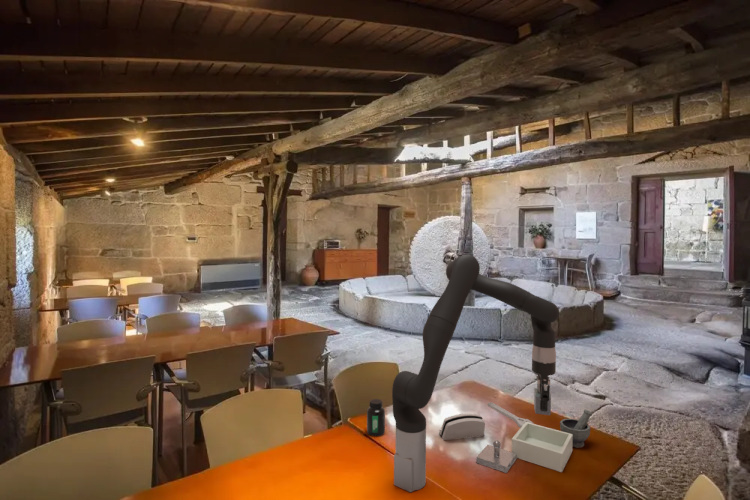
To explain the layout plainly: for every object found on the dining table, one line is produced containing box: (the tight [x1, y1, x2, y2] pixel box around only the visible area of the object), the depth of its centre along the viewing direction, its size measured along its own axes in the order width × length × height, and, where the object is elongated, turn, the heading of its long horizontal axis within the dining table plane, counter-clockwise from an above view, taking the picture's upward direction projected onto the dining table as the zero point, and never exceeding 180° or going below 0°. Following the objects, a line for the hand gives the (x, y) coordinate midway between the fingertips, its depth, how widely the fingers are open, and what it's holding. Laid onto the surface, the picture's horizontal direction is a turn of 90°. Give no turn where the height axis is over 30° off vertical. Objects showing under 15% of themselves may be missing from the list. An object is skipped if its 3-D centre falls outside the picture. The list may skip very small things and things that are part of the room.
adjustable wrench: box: [487, 402, 534, 429], centre depth 171 cm, size 25×6×2 cm, turn 19°
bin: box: [511, 422, 573, 473], centre depth 141 cm, size 16×16×6 cm
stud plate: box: [475, 440, 518, 474], centre depth 137 cm, size 10×10×7 cm
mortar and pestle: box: [559, 409, 593, 449], centre depth 149 cm, size 11×9×12 cm
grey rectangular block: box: [533, 387, 552, 416], centre depth 141 cm, size 5×5×7 cm
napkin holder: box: [438, 413, 486, 441], centre depth 153 cm, size 17×5×10 cm, turn 102°
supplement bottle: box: [366, 398, 386, 437], centre depth 156 cm, size 7×7×12 cm
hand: (542, 407), depth 141 cm, fingers closed on grey rectangular block, 4 cm apart
